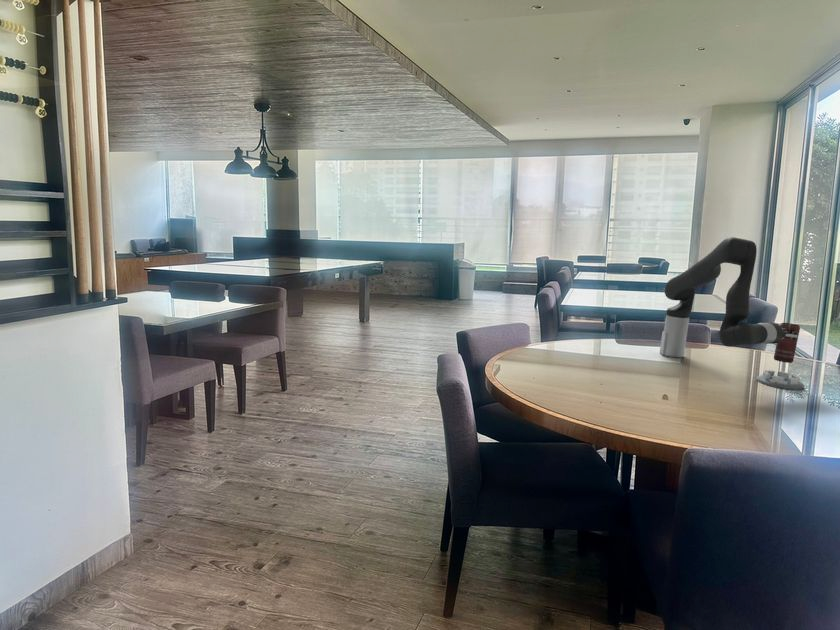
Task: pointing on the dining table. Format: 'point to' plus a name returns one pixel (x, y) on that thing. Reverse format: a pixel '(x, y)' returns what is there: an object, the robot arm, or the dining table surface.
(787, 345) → the can
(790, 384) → the ring collar
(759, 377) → the slate plate
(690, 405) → the dining table surface
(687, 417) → the dining table surface
